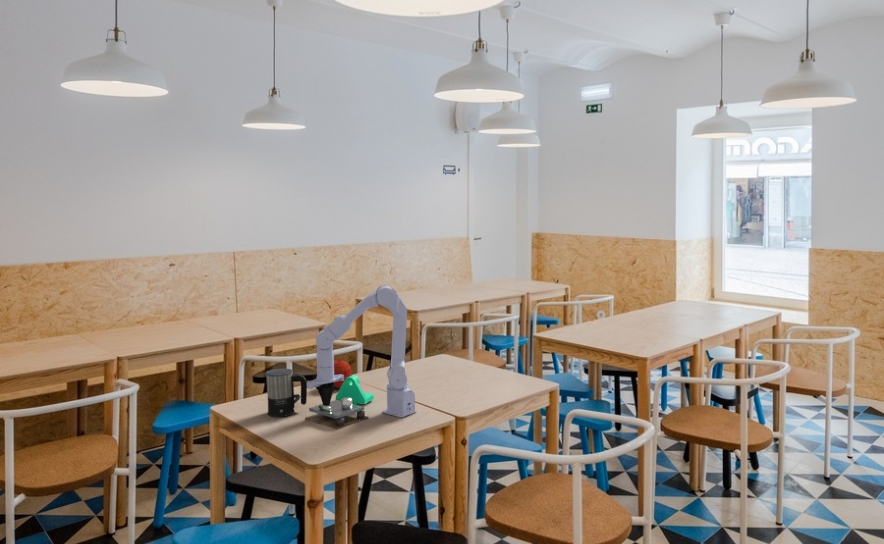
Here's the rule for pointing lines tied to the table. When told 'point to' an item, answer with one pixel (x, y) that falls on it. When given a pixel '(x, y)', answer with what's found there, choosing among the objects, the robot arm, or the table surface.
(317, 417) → the stand base
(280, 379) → the milk frother
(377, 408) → the table surface
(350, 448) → the table surface
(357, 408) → the level plate
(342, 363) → the apple
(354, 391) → the camera mount
